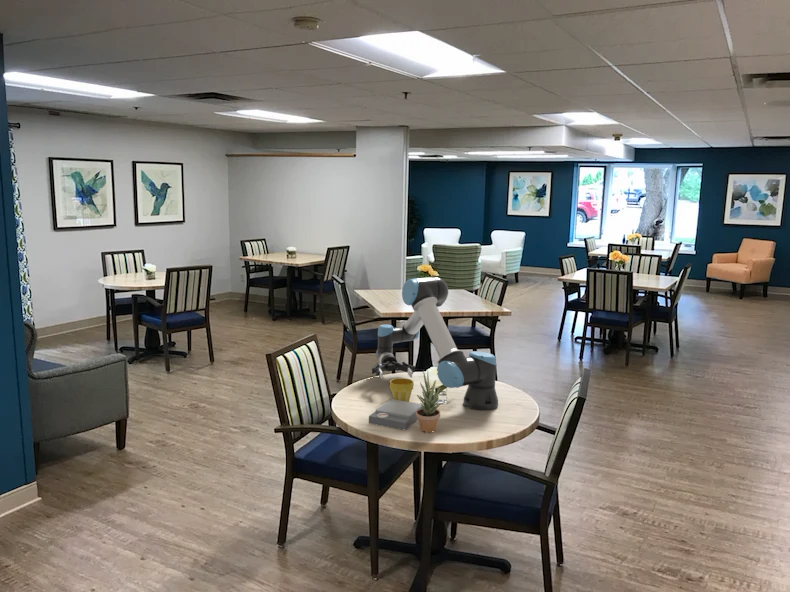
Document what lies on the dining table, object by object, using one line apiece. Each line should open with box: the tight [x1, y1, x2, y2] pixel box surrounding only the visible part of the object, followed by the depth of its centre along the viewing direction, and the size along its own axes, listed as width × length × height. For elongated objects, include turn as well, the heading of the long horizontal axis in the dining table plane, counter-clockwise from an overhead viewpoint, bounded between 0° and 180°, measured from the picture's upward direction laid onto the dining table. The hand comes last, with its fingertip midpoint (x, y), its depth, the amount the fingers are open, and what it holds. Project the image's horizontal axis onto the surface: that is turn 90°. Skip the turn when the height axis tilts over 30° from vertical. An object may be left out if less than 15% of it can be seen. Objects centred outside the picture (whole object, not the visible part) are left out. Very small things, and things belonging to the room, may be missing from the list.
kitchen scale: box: [368, 398, 424, 431], centre depth 260 cm, size 16×20×4 cm
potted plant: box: [416, 370, 442, 433], centre depth 246 cm, size 10×10×25 cm
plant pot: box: [389, 377, 415, 402], centre depth 278 cm, size 10×10×10 cm
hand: (396, 375), depth 287 cm, fingers open, 13 cm apart
